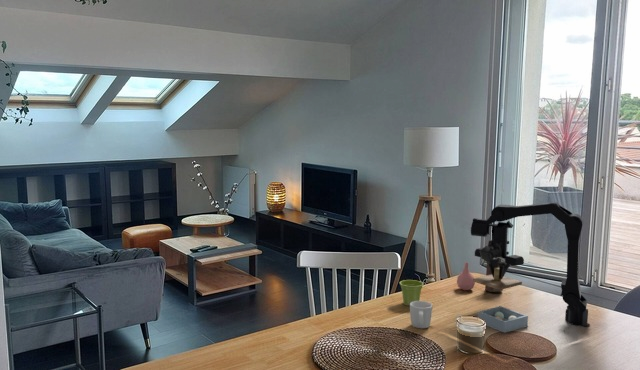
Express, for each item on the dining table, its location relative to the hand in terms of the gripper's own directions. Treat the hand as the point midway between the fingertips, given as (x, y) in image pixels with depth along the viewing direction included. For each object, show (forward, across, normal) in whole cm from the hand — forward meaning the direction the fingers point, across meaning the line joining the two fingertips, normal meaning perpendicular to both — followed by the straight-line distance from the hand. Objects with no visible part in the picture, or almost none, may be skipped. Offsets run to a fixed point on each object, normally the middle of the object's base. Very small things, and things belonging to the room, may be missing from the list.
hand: (497, 278), depth 202 cm
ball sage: (+12, +8, -9) cm, 17 cm away
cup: (+13, -4, -36) cm, 39 cm away
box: (+13, +11, -10) cm, 20 cm away
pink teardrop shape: (+13, -25, +12) cm, 31 cm away
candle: (+13, -17, +20) cm, 30 cm away
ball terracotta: (+12, +11, -13) cm, 21 cm away
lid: (+2, 0, 0) cm, 2 cm away
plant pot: (+14, -24, -22) cm, 35 cm away
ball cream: (+12, +14, -8) cm, 20 cm away
